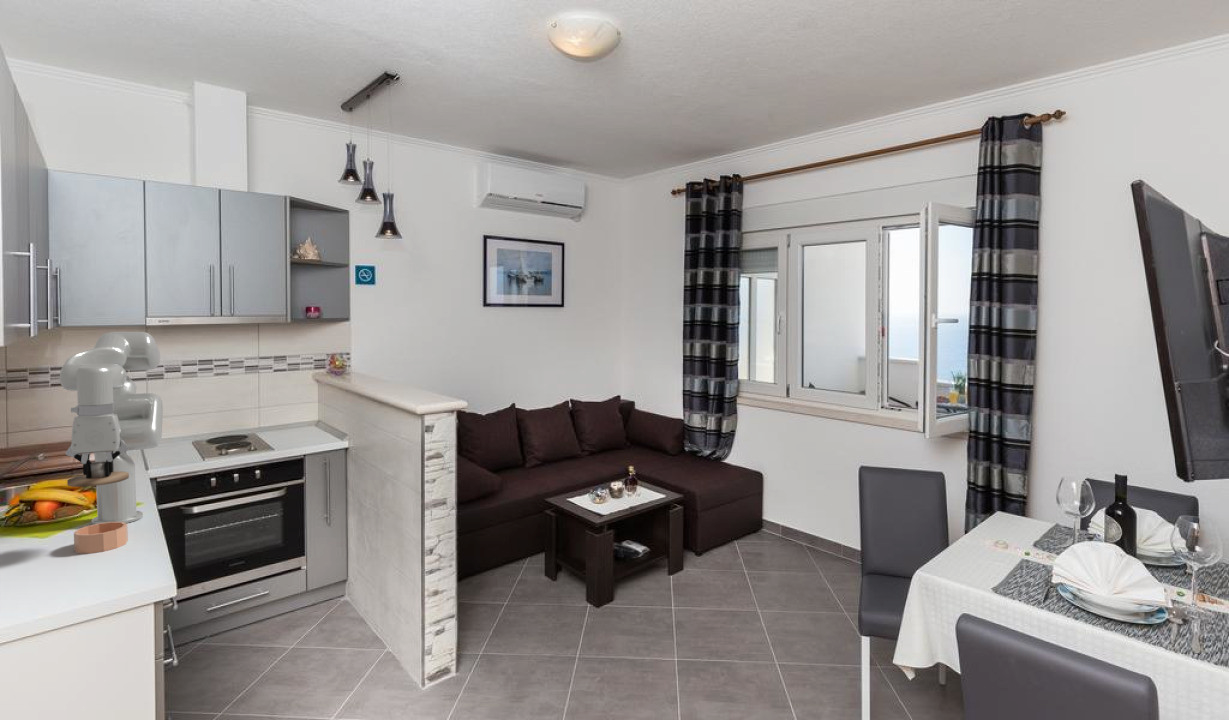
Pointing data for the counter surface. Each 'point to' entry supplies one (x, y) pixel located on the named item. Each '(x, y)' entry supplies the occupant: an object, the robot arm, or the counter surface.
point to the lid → (97, 476)
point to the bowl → (100, 537)
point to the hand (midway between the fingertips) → (98, 475)
